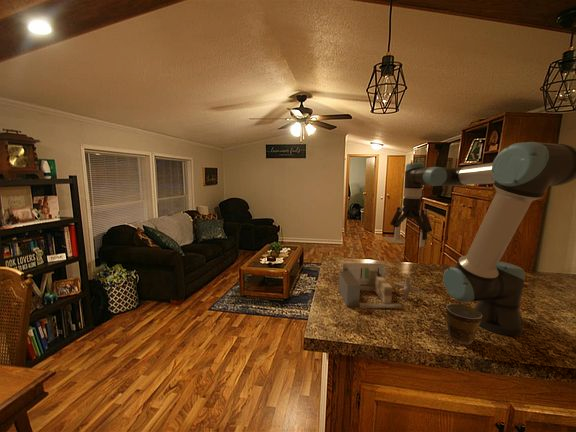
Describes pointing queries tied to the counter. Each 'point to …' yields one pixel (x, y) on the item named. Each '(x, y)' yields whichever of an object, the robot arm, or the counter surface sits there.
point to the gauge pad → (383, 289)
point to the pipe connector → (407, 287)
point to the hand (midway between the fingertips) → (408, 243)
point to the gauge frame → (361, 283)
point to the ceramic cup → (462, 322)
